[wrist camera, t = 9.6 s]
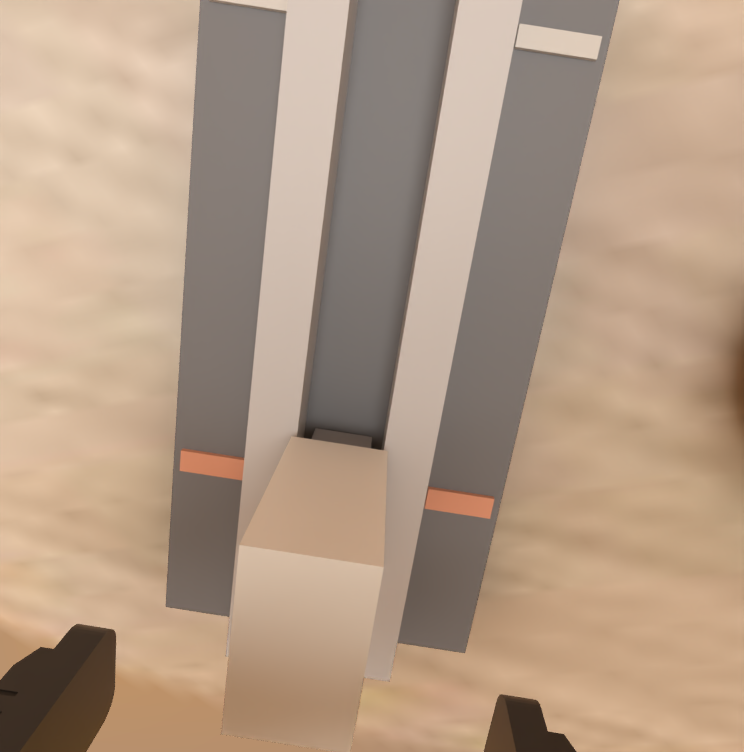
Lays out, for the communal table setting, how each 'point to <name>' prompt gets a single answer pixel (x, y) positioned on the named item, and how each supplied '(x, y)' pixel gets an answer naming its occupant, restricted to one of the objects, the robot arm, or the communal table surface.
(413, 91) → the track
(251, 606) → the fader
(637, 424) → the communal table surface
